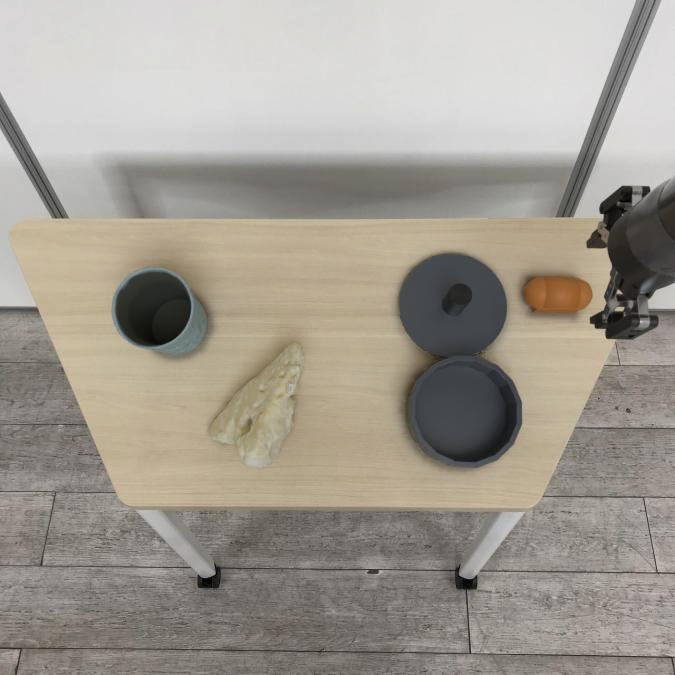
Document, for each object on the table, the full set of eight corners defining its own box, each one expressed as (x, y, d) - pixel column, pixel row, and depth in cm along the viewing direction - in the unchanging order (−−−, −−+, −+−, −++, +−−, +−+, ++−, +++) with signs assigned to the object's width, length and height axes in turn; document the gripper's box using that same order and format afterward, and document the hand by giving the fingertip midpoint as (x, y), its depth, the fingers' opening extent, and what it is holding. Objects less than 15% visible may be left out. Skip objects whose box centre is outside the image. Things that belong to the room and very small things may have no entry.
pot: (509, 363, 84) (521, 357, 78) (510, 468, 81) (522, 469, 75) (407, 359, 84) (411, 353, 78) (405, 463, 82) (409, 464, 76)
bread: (585, 283, 85) (597, 275, 81) (585, 314, 85) (598, 307, 80) (520, 281, 86) (529, 272, 81) (520, 312, 85) (529, 305, 81)
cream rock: (240, 482, 84) (321, 472, 75) (198, 467, 79) (278, 454, 70) (259, 380, 91) (335, 359, 82) (221, 361, 86) (297, 336, 77)
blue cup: (163, 280, 87) (134, 254, 75) (227, 307, 86) (207, 286, 74) (131, 344, 86) (96, 328, 74) (196, 373, 85) (170, 361, 73)
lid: (505, 257, 86) (518, 241, 79) (505, 361, 84) (519, 353, 77) (400, 254, 87) (404, 237, 80) (397, 357, 84) (401, 349, 77)
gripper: (727, 317, 49) (635, 348, 65) (713, 152, 52) (628, 221, 68) (632, 314, 49) (564, 346, 65) (623, 150, 52) (559, 219, 68)
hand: (596, 282), depth 67 cm, fingers open, 8 cm apart
